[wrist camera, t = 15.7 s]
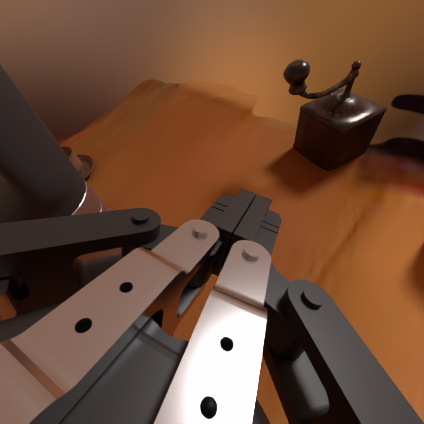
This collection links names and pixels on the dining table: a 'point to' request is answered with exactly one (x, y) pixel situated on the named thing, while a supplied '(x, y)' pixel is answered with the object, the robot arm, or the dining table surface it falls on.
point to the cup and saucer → (80, 162)
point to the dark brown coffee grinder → (332, 119)
